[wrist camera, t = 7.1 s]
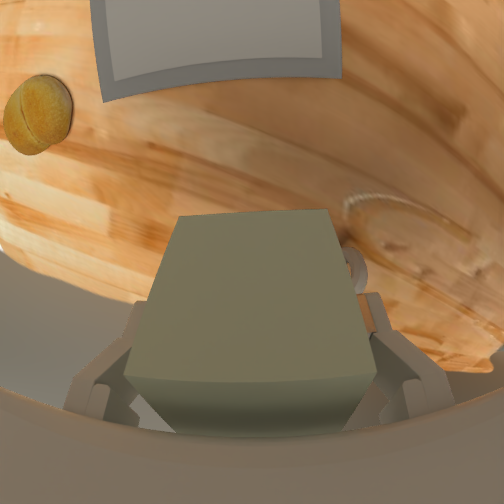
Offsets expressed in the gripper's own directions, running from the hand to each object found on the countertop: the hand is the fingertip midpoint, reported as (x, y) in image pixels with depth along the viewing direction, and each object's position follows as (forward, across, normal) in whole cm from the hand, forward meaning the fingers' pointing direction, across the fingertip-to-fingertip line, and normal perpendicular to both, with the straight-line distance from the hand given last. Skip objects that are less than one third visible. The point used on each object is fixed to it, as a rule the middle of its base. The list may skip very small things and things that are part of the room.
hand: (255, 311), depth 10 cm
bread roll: (+20, +22, -7) cm, 30 cm away
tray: (+19, +3, -15) cm, 24 cm away
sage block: (+2, 0, 0) cm, 2 cm away
